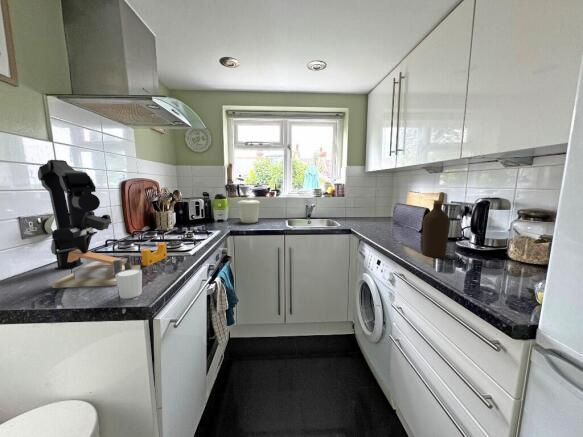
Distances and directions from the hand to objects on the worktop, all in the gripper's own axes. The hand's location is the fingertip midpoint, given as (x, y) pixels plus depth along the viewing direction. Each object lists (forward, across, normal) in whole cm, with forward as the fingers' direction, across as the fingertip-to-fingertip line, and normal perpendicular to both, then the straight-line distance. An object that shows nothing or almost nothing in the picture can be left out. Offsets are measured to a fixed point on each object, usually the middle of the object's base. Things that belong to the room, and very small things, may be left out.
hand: (84, 253), depth 91 cm
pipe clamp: (+10, +18, -15) cm, 25 cm away
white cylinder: (+9, -16, -22) cm, 29 cm away
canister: (+9, +112, -51) cm, 123 cm away
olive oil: (+9, +11, -140) cm, 141 cm away
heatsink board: (+9, 0, -4) cm, 10 cm away
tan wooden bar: (+5, 0, -4) cm, 6 cm away
